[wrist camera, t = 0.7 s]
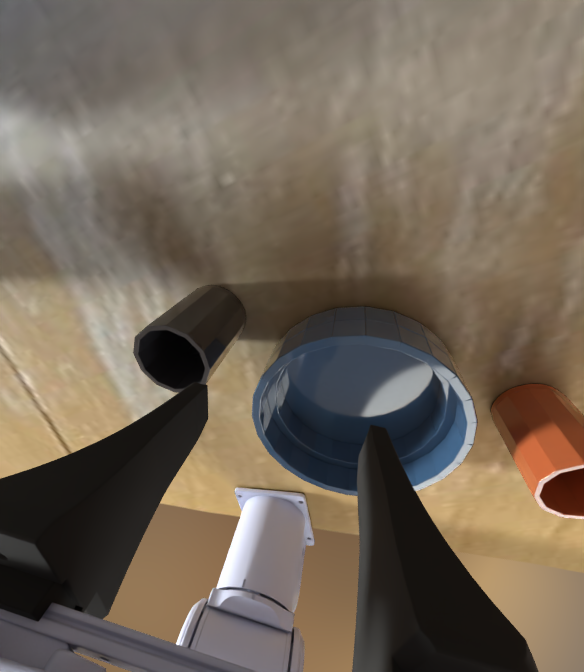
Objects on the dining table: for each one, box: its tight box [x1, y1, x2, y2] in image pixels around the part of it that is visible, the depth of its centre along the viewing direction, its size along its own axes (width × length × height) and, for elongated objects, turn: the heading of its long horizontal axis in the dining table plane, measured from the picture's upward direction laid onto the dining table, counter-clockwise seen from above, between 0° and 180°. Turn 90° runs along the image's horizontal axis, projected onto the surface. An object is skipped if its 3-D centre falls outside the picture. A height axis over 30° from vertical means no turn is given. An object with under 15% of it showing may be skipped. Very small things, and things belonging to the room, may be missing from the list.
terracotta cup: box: [491, 384, 584, 519], centre depth 19 cm, size 5×5×6 cm
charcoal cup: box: [133, 285, 246, 392], centre depth 20 cm, size 5×5×6 cm
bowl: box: [252, 306, 477, 496], centre depth 21 cm, size 14×14×4 cm
